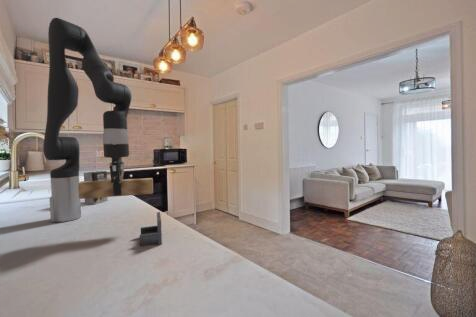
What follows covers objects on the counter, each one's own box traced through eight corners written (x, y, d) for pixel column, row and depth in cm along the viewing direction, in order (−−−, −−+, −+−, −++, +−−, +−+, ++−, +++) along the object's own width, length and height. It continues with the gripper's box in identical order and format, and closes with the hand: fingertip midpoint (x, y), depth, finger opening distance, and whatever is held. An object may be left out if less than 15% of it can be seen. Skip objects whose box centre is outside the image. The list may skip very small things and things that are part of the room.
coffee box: (95, 204, 117) (93, 172, 116) (84, 204, 118) (82, 172, 118) (108, 200, 126) (107, 170, 125) (98, 200, 127) (97, 170, 127)
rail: (78, 198, 73) (77, 183, 73) (82, 196, 77) (82, 181, 77) (152, 193, 80) (152, 179, 80) (153, 191, 84) (152, 177, 84)
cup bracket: (139, 247, 66) (138, 223, 66) (141, 235, 75) (140, 214, 75) (161, 244, 68) (161, 221, 68) (160, 232, 77) (159, 212, 77)
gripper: (107, 143, 83) (109, 190, 84) (98, 142, 70) (101, 199, 71) (130, 143, 86) (132, 189, 87) (126, 142, 72) (128, 196, 73)
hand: (118, 193), depth 79 cm, fingers closed on rail, 4 cm apart
